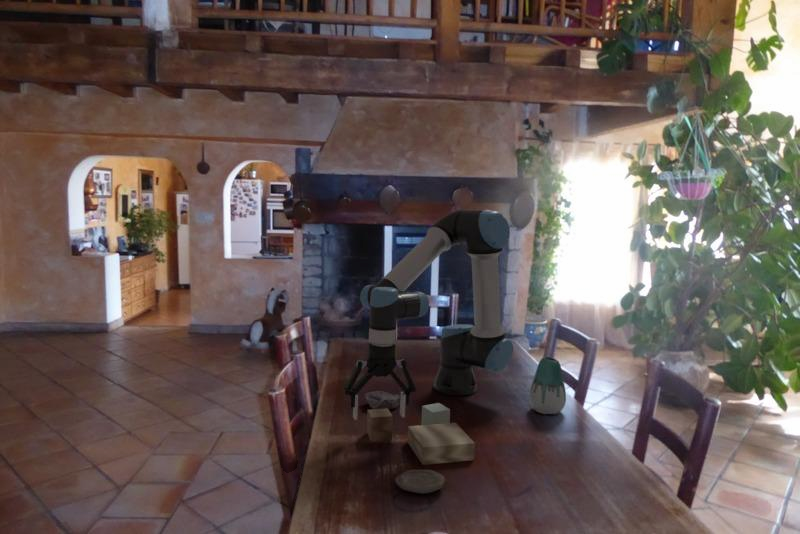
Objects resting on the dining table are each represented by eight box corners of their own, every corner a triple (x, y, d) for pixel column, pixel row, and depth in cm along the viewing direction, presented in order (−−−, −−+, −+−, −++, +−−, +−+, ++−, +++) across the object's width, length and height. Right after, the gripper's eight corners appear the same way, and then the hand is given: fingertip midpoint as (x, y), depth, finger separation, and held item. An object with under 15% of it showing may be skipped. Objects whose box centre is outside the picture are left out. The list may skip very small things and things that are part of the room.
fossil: (398, 479, 142) (398, 467, 142) (445, 481, 141) (445, 469, 140) (392, 497, 132) (392, 484, 131) (443, 499, 130) (443, 487, 130)
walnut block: (387, 431, 168) (387, 408, 167) (392, 440, 162) (392, 416, 161) (366, 433, 166) (367, 409, 166) (371, 441, 161) (371, 417, 160)
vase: (567, 409, 192) (571, 356, 189) (561, 420, 181) (565, 364, 179) (532, 402, 196) (535, 351, 194) (524, 413, 186) (527, 359, 184)
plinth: (454, 439, 165) (455, 422, 164) (473, 461, 152) (474, 443, 151) (407, 443, 161) (408, 426, 161) (422, 466, 148) (423, 447, 147)
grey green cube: (438, 421, 177) (438, 402, 176) (449, 428, 172) (450, 409, 171) (421, 425, 174) (422, 405, 173) (432, 432, 169) (433, 412, 168)
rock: (403, 410, 186) (403, 396, 185) (368, 412, 183) (368, 398, 182) (397, 401, 193) (397, 388, 193) (363, 403, 191) (363, 390, 190)
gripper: (421, 339, 168) (417, 410, 170) (335, 340, 161) (332, 414, 164) (429, 345, 161) (425, 419, 163) (339, 347, 154) (336, 424, 157)
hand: (378, 417), depth 163 cm, fingers open, 13 cm apart
